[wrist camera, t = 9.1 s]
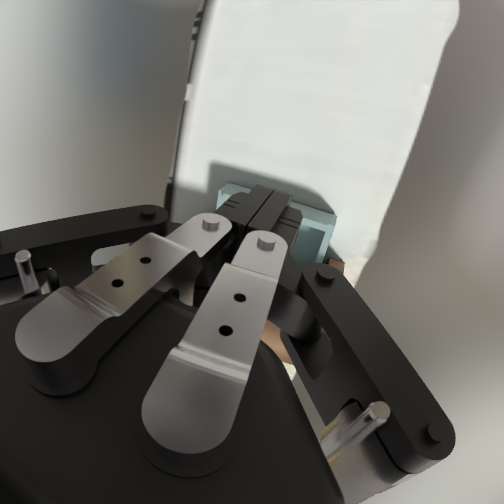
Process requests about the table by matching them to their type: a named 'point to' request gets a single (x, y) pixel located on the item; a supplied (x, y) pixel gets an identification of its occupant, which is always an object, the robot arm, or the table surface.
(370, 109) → the table surface
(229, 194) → the light blue square tray
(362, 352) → the robot arm
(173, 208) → the table surface
